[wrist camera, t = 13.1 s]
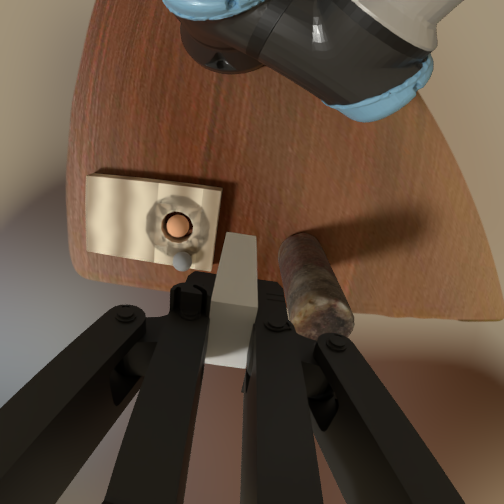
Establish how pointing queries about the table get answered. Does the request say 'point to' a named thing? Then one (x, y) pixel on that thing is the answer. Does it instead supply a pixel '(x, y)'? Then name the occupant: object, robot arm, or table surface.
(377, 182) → the table surface
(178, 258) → the grey ball
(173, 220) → the orange ball
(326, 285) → the candle
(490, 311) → the table surface
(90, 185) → the board
